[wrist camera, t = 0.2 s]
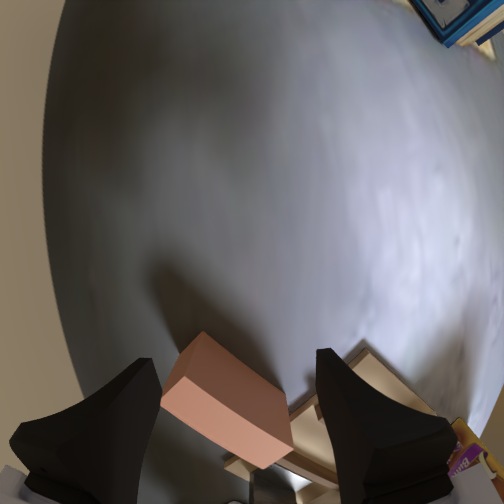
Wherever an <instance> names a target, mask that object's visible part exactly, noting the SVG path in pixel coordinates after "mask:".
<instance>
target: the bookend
mask: <svg viewBox="0 0 504 504" xmlns="http://www.w3.org/2000/svg"><path fill="white" fill-rule="evenodd" d="M311 482H312V480H310V479H308V478H306V477H304V476H302V475H300V474H297V473H295V472H293V471H291V470H289V469H287V468H285V467H283V466H281V465H279V464H278V463H276V462H274V463H273V464H271V465H270V466H268V467H267V468H265V469H261V468H257V469H256V470H254V471H252V472H251V473H250V480H249V504H297V500H296V493H295V492H296V491H298V490H300V489H302V488H303V487H305V486H307V485H308V484H310V483H311Z"/></svg>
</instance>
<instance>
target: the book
mask: <svg viewBox="0 0 504 504" xmlns="http://www.w3.org/2000/svg"><path fill="white" fill-rule="evenodd" d="M412 1H413V3H414V4H415V5H416V6H417V8H418V9H419V10H420V12H421V13H422V14H423V16H424V17H425V18H426V20H427V21H428V22H429V24H430V25H431V27H432V28H433V29H434V31H435V32H436V34H437V35H438V37H439V38H440V40H441V41H442V43H443V44H444V45H445V46H446V47H447V48H449V47H450V46H452V45H453V44H454V43H455V44H458V45H460V46H463V47H465V46H467V45H469V44H470V43H472V42H474V41H475V42H476V43H477V44H478V46H479V45H481V44H482V43H484V42H485V41H487V40H488V39H489V38H491V37H492V36H494V35H495V34H497V33H498V32H500V31H501V30H503V29H504V0H412Z"/></svg>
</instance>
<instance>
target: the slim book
mask: <svg viewBox="0 0 504 504" xmlns="http://www.w3.org/2000/svg"><path fill="white" fill-rule="evenodd" d="M162 391H163V393H162V398H161V403H160V406H162V407H163V408H165V409H166V410H167V411H169V412H170V413H171V414H173V415H174V416H176V417H177V418H178V419H180V420H181V421H183V422H184V423H186V424H187V425H189V426H190V427H192V428H193V429H195V430H196V431H198V432H199V433H201V434H202V435H204V436H205V437H207V438H209V439H210V440H212V441H213V442H215V443H217V444H218V445H220V446H222V447H223V448H225V449H227V450H228V451H230V452H232V453H234V454H235V455H237V456H239V457H241V458H242V459H244V460H246V461H248V462H250V463H252V464H253V465H255V466H257V467H259V468H261V469H265V468H267V467H268V466H270V465H271V464H273V463H274V462H276V461H277V460H279V459H280V458H282V457H283V456H285V455H286V454H288V453H289V452H291V451H292V450H294V444H293V438H292V431H291V425H290V419H289V413H288V407H287V400H286V394H284V393H283V392H282V391H280V390H279V389H277V388H276V387H275V386H273V385H272V384H271V383H269V382H268V381H266V380H265V379H264V378H262V377H261V376H260V375H258V374H257V373H256V372H254V371H253V370H252V369H250V368H249V367H248V366H246V365H245V364H244V363H243V362H241V361H240V360H239V359H237V358H236V357H235V356H234V355H232V354H231V353H230V352H229V351H227V350H226V349H225V348H224V347H222V346H221V345H220V344H219V343H217V342H216V341H215V340H214V339H212V338H211V337H210V336H209V335H208V334H206V333H205V332H204V331H202V332H201V333H200V334H199V335H198V336H197V337H196V338H195V339H194V340H193V341H192V342H191V343H190V344H189V345H188V346H187V347H186V348H185V349H184V350H183V351H182V353H181V354H180V355H179V357H178V359H177V361H176V363H175V365H174V367H173V369H172V371H171V374H170V376H169V378H168V380H167V382H166V384H165V386H164V388H163V390H162Z"/></svg>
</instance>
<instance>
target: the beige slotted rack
mask: <svg viewBox="0 0 504 504" xmlns="http://www.w3.org/2000/svg"><path fill="white" fill-rule="evenodd" d="M348 366H349V367H350V368H351V369H352V370H353V371H354V372H355V373H356V374H357V375H359V376H360V377H361V378H362V379H363V380H364V381H366V382H367V383H368V384H370V385H371V386H372V387H374V388H375V389H376V390H378V391H379V392H381V393H383V394H384V395H386V396H387V397H389V398H391V399H393V400H395V401H397V402H399V403H401V404H403V405H405V406H407V407H410V408H412V409H415V410H418V411H420V412H423V413H426V414H430V415H434V416H437V414H436V413H435V412H434V411H433V410H432V409H431V408H430V407H429V406H428V405H427V404H426V403H425V402H424V401H423V400H422V399H421V398H419V397H418V396H417V395H416V394H415V393H414V392H413V391H412V390H411V389H410V388H409V387H407V386H406V385H405V384H404V383H403V382H402V381H401V380H400V379H399V378H398V377H397V376H396V375H394V374H393V373H392V372H391V371H390V370H389V369H388V368H387V367H386V366H385V365H384V364H382V363H381V362H380V361H379V360H378V359H377V358H376V357H375V356H374V355H373V354H372V353H370V352H369V351H368V350H367V349H366V348H365V349H364V350H363V351H362V352H361V353H360V354H359V355H358V356H357V357H356V358H355V359H353V360H352V361H351V362H350V363H349V364H348ZM289 419H290V425H291V431H292V438H293V444H294V450H292V451H291V452H289V453H288V454H286V455H285V456H283V457H282V458H280V459H279V460H277V461H276V463H278V464H279V465H281V466H283V467H285V468H287V469H289V470H291V471H293V472H295V473H297V474H300V475H302V476H304V477H306V478H308V479H310V480H312V482H311V483H310V484H308V485H307V486H305V487H303V488H302V489H300V490H298V491H296V492H295V493H296V500H297V503H300V504H341V500H340V492H339V484H338V478H337V471H336V465H335V459H334V454H333V449H332V445H331V441H330V438H329V435H328V432H327V429H326V425H325V422H324V419H323V416H322V413H321V409H320V406H319V402H318V397H317V393H316V394H315V395H314V396H313V397H311V398H310V399H309V400H308V401H307V402H306V403H304V404H303V405H302V406H301V407H299V408H298V409H297V410H296V411H295V412H293V413H292V414H291V415H290V416H289ZM458 443H459V442H458ZM458 443H457V444H458ZM257 468H259V467H257V466H255V465H253V464H252V463H250V462H248V461H246V460H244V459H242V458H241V457H239V456H237V455H235V456H233V457H232V458H230V459H229V460H227V461H226V462H225V464H224V469H225V470H227V471H229V472H231V473H233V474H235V475H237V476H239V477H241V478H243V479H245V480H247V481H249V480H250V473H251V472H252V471H254V470H256V469H257Z"/></svg>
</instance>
